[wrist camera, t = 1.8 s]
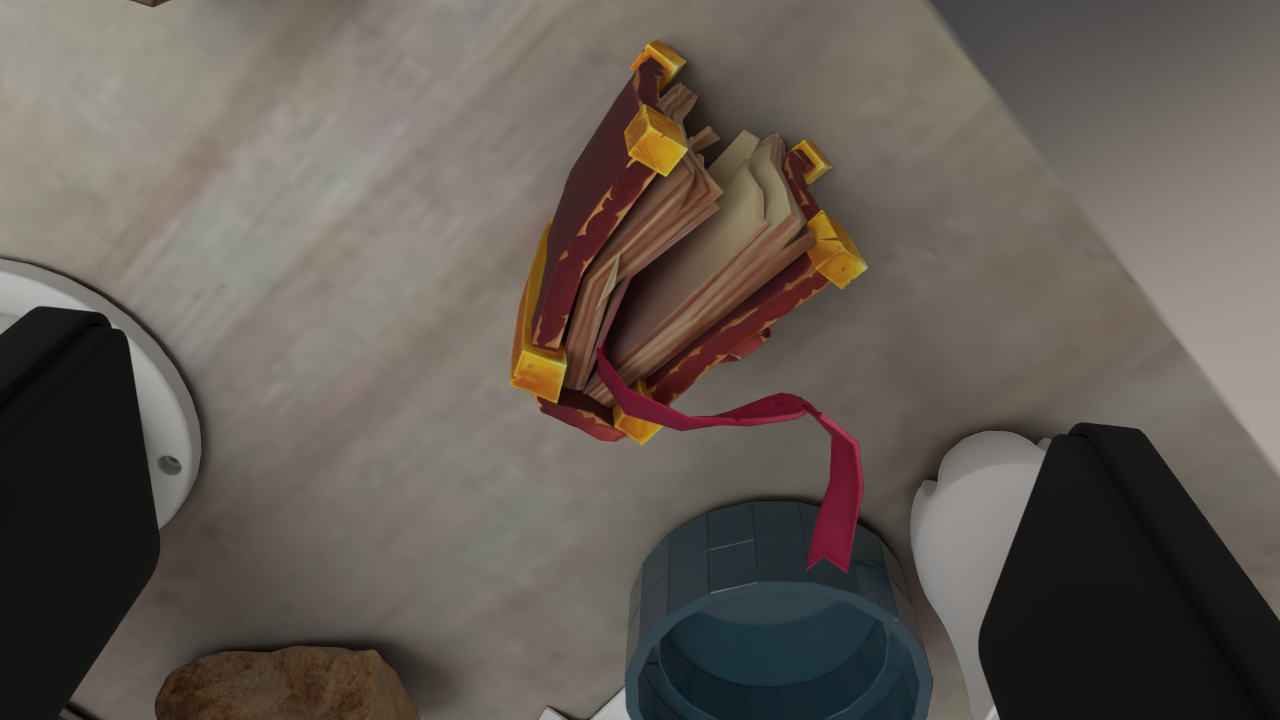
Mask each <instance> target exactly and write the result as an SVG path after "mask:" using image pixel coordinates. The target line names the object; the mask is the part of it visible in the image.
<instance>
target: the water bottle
mask: <svg viewBox="0 0 1280 720" xmlns="http://www.w3.org/2000/svg"><path fill="white" fill-rule="evenodd" d="M1051 441H1052V440H1051V439H1049V438H1043V439H1042V440H1041V441H1040V442H1039V443H1038V444H1037V446H1036V445H1035V444H1033V443H1032V442H1031V441H1029V440H1028V439H1026V438H1024V437H1022V436H1020V435H1018V434H1015V433H1012V432H1007V431H984V432H980V433H977V434H974V435H971V436H969V437H966V438H964V439H962V440H961V441H960V442H958V443H957V444H956V445H955V446H954V447H953V448H952V449H950V450H949V451H948V452H947V454H946V455H945V456H944V458H943V460H942V463H941V465H940V469H939V473H938V482H937V481H932V480H924V481H923V483H922V485H921V486H920V488H919V489H918V491H917V492H916V494H915V497H914V501H913V506H912V510H911V520H910V541H911V546H912V551H913V556H914V561H915V566H916V569H917V573H918V576H919V579H920V583H921V586H922V588H923V591H924V593H925V595H926V597H927V599H928V601H929V602H930V604H931V605H932V607H933V608H934V610H935V611H936V613H937V614H938V616H939V617H940V619H941V621H942V623H943V625H944V626H945V628H946V630H947V632H948V635H949V637H950V639H951V641H952V644H953V647H954V649H955V652H956V655H957V658H958V661H959V664H960V666H961V670H962V674H963V677H964V681H965V685H966V688H967V692H968V697H969V702H970V707H971V713H972V720H1000V719H999V716H998V713H997V710H996V707H995V704H994V702H993V699H992V696H991V693H990V690H989V687H988V684H987V681H986V678H985V676H984V673H983V670H982V667H981V664H980V660H979V653H978V638H979V631H980V628H981V624H982V622H983V619H984V616H985V614H986V611H987V608H988V606H989V603H990V600H991V598H992V595H993V592H994V590H995V587H996V584H997V582H998V579H999V576H1000V574H1001V571H1002V568H1003V566H1004V563H1005V560H1006V558H1007V555H1008V553H1009V550H1010V547H1011V545H1012V542H1013V539H1014V537H1015V534H1016V531H1017V529H1018V526H1019V523H1020V521H1021V518H1022V515H1023V513H1024V510H1025V507H1026V505H1027V502H1028V499H1029V497H1030V494H1031V491H1032V489H1033V486H1034V484H1035V481H1036V478H1037V476H1038V473H1039V470H1040V468H1041V465H1042V462H1043V460H1044V457H1045V454H1046V452H1047V449H1048V447H1049V445H1050V443H1051Z"/></svg>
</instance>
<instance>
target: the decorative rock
mask: <svg viewBox="0 0 1280 720" xmlns="http://www.w3.org/2000/svg"><path fill="white" fill-rule="evenodd" d="M155 714H156V718H157V720H420V718H419V716H418V706H417V705H416V704H415V703H414V701H413V699H412V697H411V695H410V694H409V693H408V692H407V690H406V689H405V687H404V686H403V684H402V682H401V680H400V677H399V676H398V675H397V673H396V671H395V669H393V668H392V667H390V666H389V665H388V664H387V663H386V662H384V661H383V660H382V658H381V656H380V655H379V654H378V653H377V651H374V650H372V649H371V650H366V651H351V650H348V649H346V648H339V647H316V646H311V647H309V646H293V647H289V648H284V649H281V650H277V651H274V652H251V651H232V652H221V653H217V654H212V655H208V656H204V657H201V658H199V659H197V660H194V661H192V662H190V663H188V664H186V665H184V666H181V667H179V668H177V669H175V670H173V671H172V672H171V673H170V674H169V675H168V676H167V677H166V679H165V681H164V683H163V686H162V688H161V689H160V691H159V693H158V695H157V698H156V701H155Z"/></svg>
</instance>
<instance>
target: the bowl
mask: <svg viewBox="0 0 1280 720" xmlns="http://www.w3.org/2000/svg"><path fill="white" fill-rule="evenodd" d="M820 509H821V508H820V507H816V506H812V505H809V504H805V503H802V502H776V501H753V502H747V503H743V504H739V505H735V506H731V507H727V508H723V509H719V510H715V511H710V512H708V513H705V514H703V515H701V516H699V517H697V518H696V519H694V520H692V521H690V522H688V523H687V524H685V525H683V526H681V527H680V528H678V529H676V530H674V531H672V532H671V533H670V534H669V535H668V536H667V537H666V538H665V539H664V540H663V541H662V542H661V543H660V544H659V545H658V546H657V547H656V548H655V550H654V551H653V552H652V553H651V554H650V555H649V556H648V557H647V558H646V559H645V560H644V562H643V564H642V566H641V569H640V571H639V574H638V576H637V579H636V581H635V584H634V586H633V588H632V591H631V596H630V610H629V624H628V638H627V652H626V666H625V699H626V711H627V713H628V715H629V717H630V719H631V720H925V719H926V718H927V715H928V710H929V705H930V699H931V694H932V688H933V678H932V674H931V671H930V667H929V663H928V660H927V656H926V652H925V649H924V645H923V641H922V638H921V634H920V630H919V627H918V623H917V620H916V616H915V612H914V609H913V605H912V601H911V598H910V594H909V590H908V587H907V583H906V580H905V576H904V573H903V569H902V566H901V565H900V563H899V562H898V561H897V559H896V558H895V557H894V556H893V554H892V553H891V552H890V551H889V549H888V548H887V547H886V546H885V544H884V543H883V542H882V541H881V539H880V538H879V537H877V536H876V535H875V534H874V533H872V532H870V531H869V530H867V529H866V528H864V527H862V526H861V525H859V524H857V523H856V527H855V532H854V537H853V543H852V549H851V555H850V561H849V567H848V572H847V574H846V573H845V572H844V571H842V570H841V569H840V568H838V567H837V566H836V565H834V564H833V563H831V562H830V561H829V560H827V559H826V558H825V557H823V558H822V559H821V560H820V561H818V562H817V563H816V564H815V565H813V566H812V567H811V568H810V569H808V570H807V571H806V569H807V564H808V559H809V554H810V549H811V544H812V539H813V533H814V528H815V524H816V521H817V518H818V515H819V512H820Z"/></svg>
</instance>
